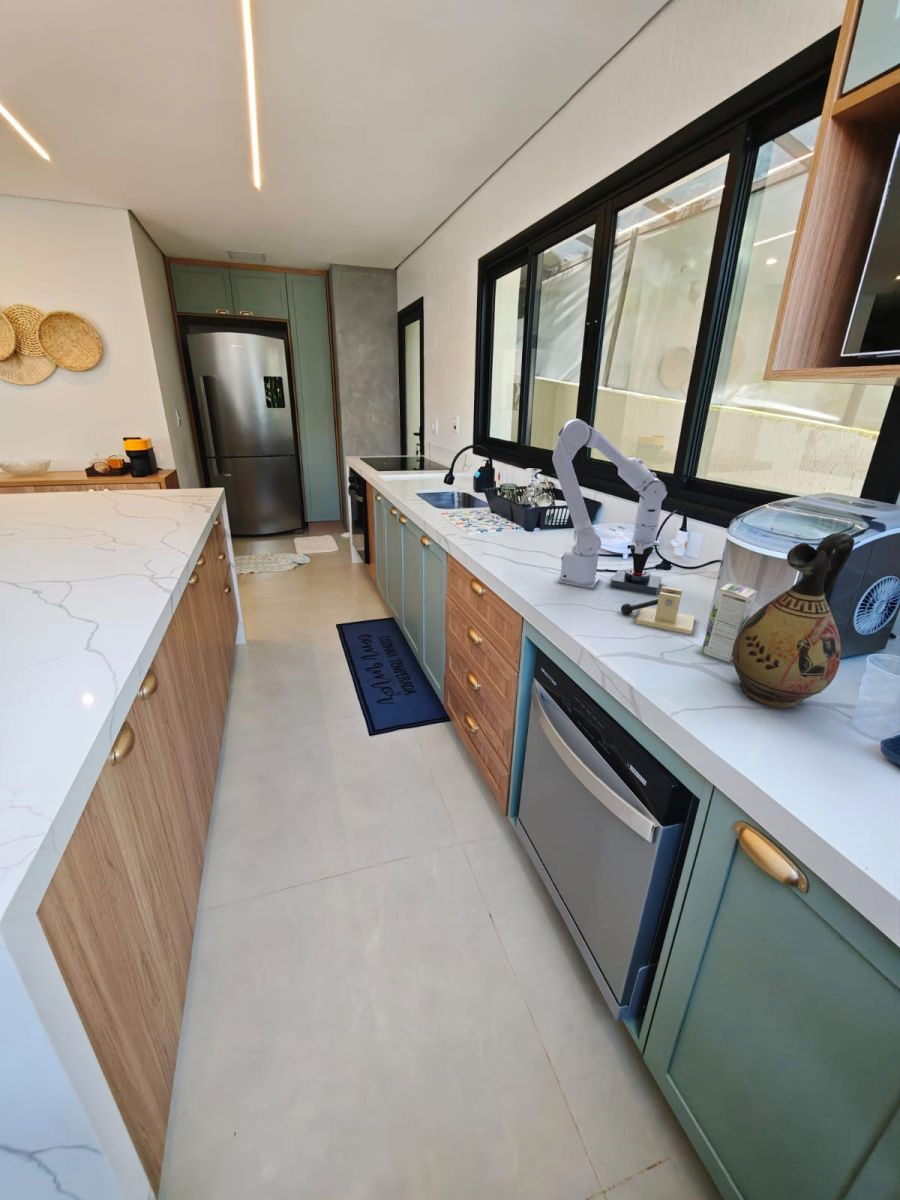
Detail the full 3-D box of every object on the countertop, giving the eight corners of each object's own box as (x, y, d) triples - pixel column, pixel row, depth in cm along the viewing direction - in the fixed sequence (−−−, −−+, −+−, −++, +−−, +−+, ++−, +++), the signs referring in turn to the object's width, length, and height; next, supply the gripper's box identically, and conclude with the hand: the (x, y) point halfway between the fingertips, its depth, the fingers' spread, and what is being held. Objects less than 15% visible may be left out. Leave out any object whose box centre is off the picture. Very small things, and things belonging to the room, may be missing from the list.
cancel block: (610, 587, 139) (612, 573, 138) (617, 576, 148) (619, 563, 146) (656, 595, 134) (658, 581, 133) (660, 584, 143) (663, 570, 141)
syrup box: (710, 644, 108) (726, 581, 103) (740, 654, 105) (758, 589, 99) (700, 653, 105) (716, 588, 99) (730, 663, 101) (748, 597, 95)
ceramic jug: (783, 729, 81) (843, 551, 70) (705, 681, 94) (744, 525, 83) (848, 706, 88) (913, 540, 76) (766, 665, 101) (811, 517, 89)
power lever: (622, 617, 122) (618, 607, 121) (624, 613, 124) (620, 603, 124) (677, 604, 115) (673, 593, 114) (678, 600, 117) (674, 589, 117)
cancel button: (629, 578, 139) (630, 572, 139) (631, 574, 142) (632, 569, 142) (642, 581, 138) (643, 575, 137) (644, 577, 141) (645, 571, 140)
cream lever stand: (635, 623, 118) (640, 592, 115) (641, 610, 125) (646, 581, 122) (691, 635, 112) (698, 603, 110) (693, 620, 120) (700, 590, 117)
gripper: (659, 532, 127) (649, 582, 132) (665, 520, 138) (656, 567, 144) (630, 528, 130) (622, 577, 135) (638, 517, 141) (631, 563, 147)
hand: (638, 572), depth 139 cm, fingers closed, pressing on cancel button
